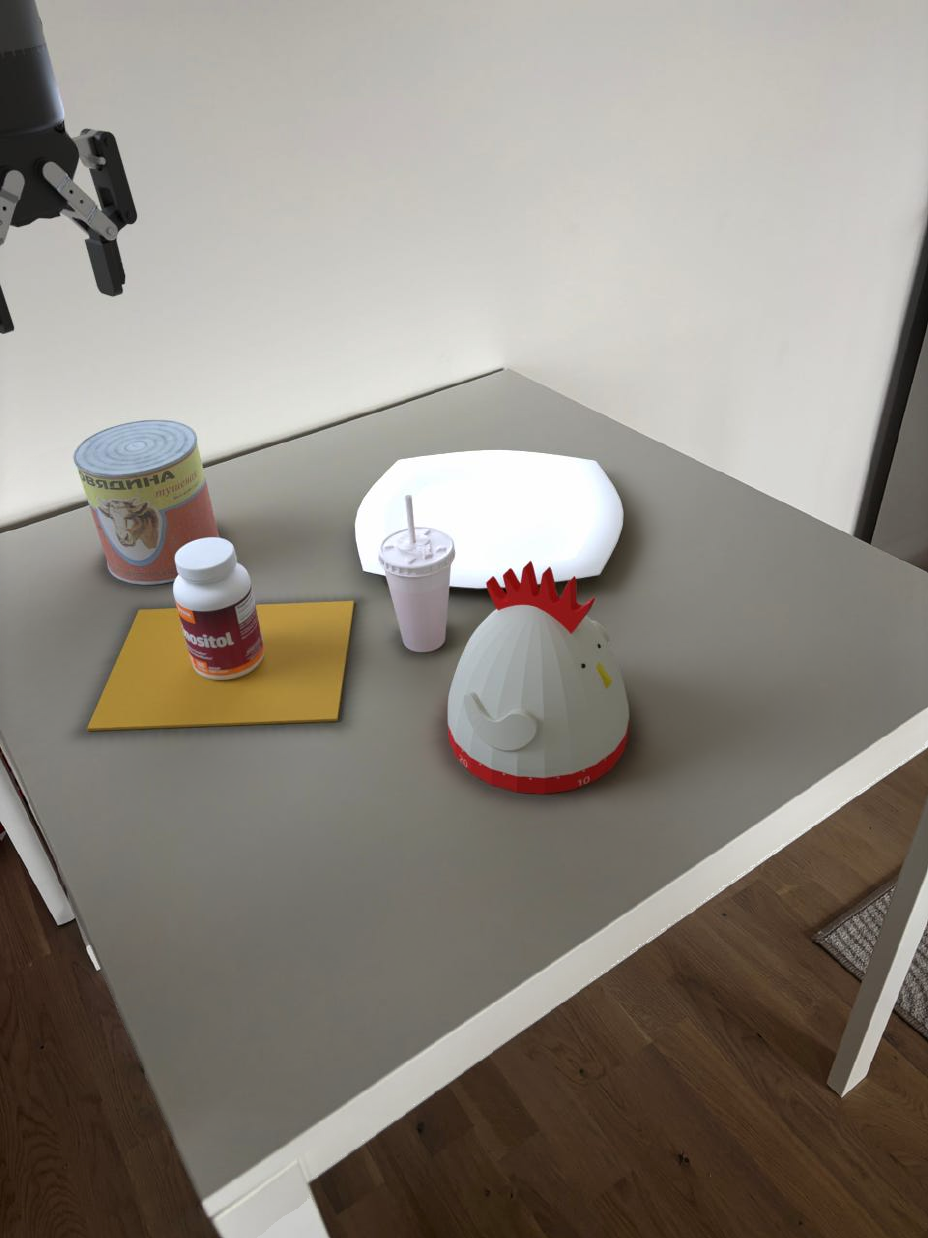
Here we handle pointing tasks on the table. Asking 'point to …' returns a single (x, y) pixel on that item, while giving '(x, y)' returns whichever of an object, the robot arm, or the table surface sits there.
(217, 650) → the pill bottle
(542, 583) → the kitchen timer
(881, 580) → the table surface
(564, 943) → the table surface
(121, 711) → the cloth
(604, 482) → the plate
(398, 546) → the smoothie
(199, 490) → the canned food
